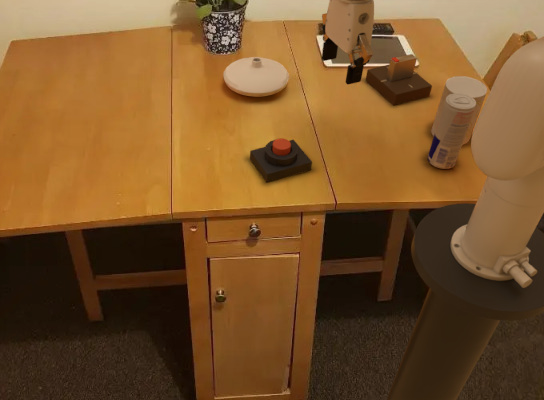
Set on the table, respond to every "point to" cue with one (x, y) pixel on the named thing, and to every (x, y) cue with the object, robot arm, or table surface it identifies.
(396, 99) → the plate
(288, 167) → the box
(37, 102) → the table surface
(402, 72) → the block
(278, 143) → the release button
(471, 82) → the cup
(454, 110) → the beverage can
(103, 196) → the table surface
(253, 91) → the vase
